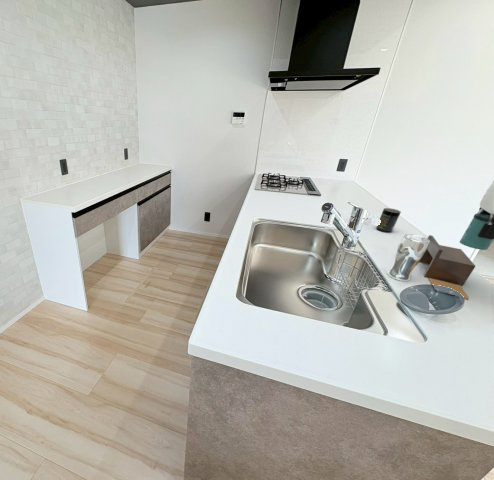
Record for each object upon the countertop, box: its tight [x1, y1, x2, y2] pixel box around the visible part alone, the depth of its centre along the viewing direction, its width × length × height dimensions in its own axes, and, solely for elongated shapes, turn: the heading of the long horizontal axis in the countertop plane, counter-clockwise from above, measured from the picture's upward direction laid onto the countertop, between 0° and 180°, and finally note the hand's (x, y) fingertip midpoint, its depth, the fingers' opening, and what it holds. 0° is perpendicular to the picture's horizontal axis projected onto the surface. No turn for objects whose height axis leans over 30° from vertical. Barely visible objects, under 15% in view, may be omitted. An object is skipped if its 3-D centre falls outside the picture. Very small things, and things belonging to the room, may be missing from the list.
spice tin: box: [459, 213, 494, 251], centre depth 76 cm, size 6×6×9 cm
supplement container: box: [375, 207, 402, 234], centre depth 127 cm, size 7×7×10 cm
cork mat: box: [428, 278, 470, 301], centre depth 85 cm, size 8×8×1 cm
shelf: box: [419, 234, 476, 287], centre depth 92 cm, size 10×14×11 cm
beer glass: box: [387, 233, 430, 282], centre depth 88 cm, size 7×7×15 cm
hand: (480, 233), depth 76 cm, fingers closed on spice tin, 6 cm apart
